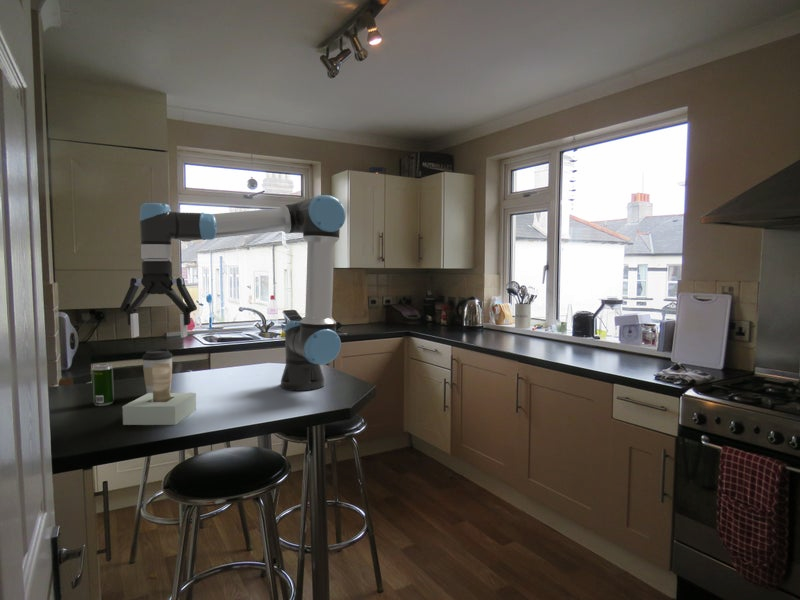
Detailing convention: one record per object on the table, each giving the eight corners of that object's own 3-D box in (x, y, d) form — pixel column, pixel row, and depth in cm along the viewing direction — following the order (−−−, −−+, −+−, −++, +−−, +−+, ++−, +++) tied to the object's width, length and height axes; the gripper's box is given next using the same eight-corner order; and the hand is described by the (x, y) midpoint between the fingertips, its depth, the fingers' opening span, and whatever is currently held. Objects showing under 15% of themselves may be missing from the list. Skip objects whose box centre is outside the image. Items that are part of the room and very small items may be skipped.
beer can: (111, 405, 153) (109, 366, 153) (91, 406, 152) (89, 367, 151) (116, 400, 159) (114, 363, 158) (97, 402, 157) (95, 363, 156)
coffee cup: (161, 400, 160) (160, 353, 158) (136, 398, 161) (135, 352, 160) (179, 392, 168) (178, 348, 167) (155, 391, 170) (154, 347, 169)
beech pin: (166, 415, 140) (165, 365, 139) (150, 415, 140) (149, 365, 139) (173, 411, 144) (172, 362, 143) (158, 410, 144) (156, 362, 143)
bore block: (196, 409, 149) (195, 392, 149) (175, 424, 135) (174, 406, 135) (148, 409, 149) (148, 392, 149) (123, 424, 135) (122, 406, 135)
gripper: (207, 260, 143) (209, 334, 145) (118, 260, 143) (122, 335, 144) (196, 260, 136) (199, 338, 137) (103, 260, 135) (107, 339, 137)
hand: (159, 337), depth 141 cm, fingers open, 13 cm apart
